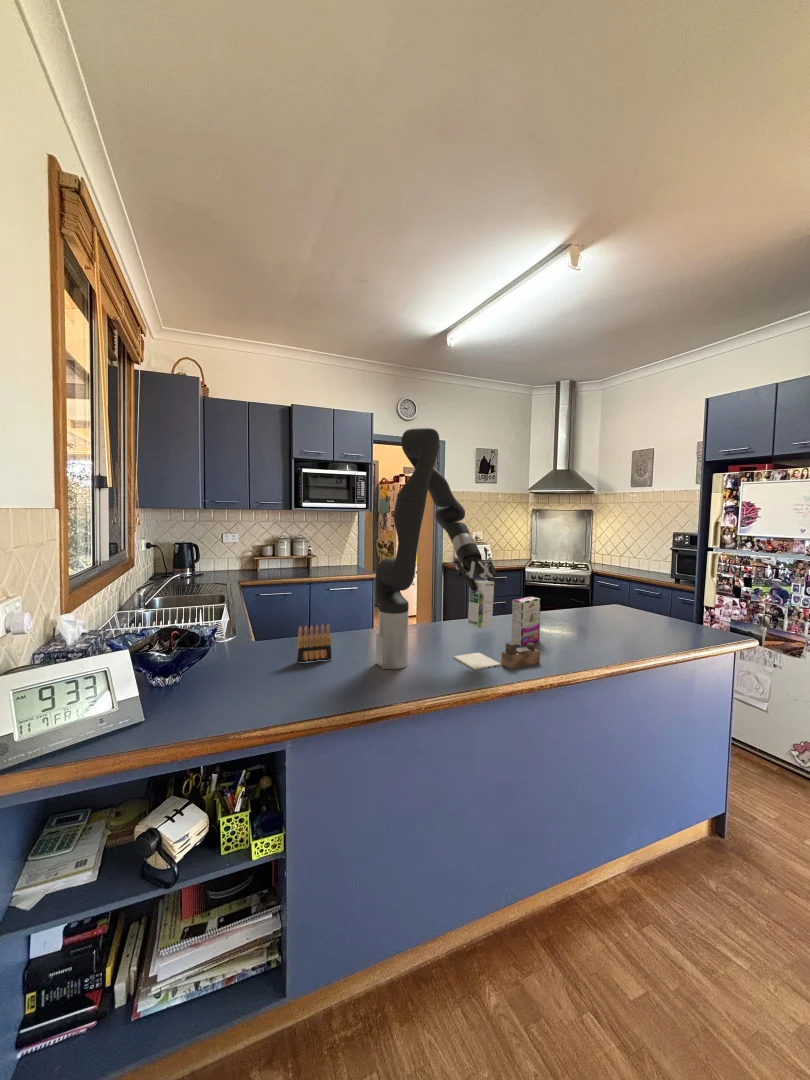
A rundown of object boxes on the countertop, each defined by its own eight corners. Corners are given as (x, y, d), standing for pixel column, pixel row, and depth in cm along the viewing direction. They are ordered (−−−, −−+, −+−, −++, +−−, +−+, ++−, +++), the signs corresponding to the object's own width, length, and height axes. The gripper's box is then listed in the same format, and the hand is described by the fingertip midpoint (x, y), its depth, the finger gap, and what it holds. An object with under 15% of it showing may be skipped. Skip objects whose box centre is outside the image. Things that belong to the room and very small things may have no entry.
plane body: (509, 668, 139) (510, 646, 138) (501, 664, 142) (502, 642, 142) (539, 663, 144) (540, 641, 143) (531, 659, 148) (531, 638, 147)
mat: (474, 670, 137) (474, 668, 137) (453, 658, 148) (453, 656, 148) (500, 665, 141) (500, 663, 141) (479, 654, 152) (479, 652, 152)
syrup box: (467, 624, 145) (468, 579, 144) (479, 622, 148) (481, 578, 147) (480, 628, 140) (481, 582, 139) (492, 626, 144) (494, 581, 143)
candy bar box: (528, 638, 172) (530, 596, 171) (539, 641, 168) (541, 598, 167) (510, 643, 165) (511, 599, 164) (521, 646, 161) (523, 601, 160)
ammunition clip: (297, 664, 139) (297, 626, 139) (296, 662, 141) (296, 625, 140) (331, 660, 143) (331, 624, 142) (330, 659, 145) (330, 622, 144)
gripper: (452, 542, 146) (470, 583, 136) (488, 542, 152) (508, 582, 142) (443, 556, 151) (460, 597, 141) (479, 556, 157) (498, 595, 147)
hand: (484, 589), depth 142 cm, fingers closed on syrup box, 6 cm apart
